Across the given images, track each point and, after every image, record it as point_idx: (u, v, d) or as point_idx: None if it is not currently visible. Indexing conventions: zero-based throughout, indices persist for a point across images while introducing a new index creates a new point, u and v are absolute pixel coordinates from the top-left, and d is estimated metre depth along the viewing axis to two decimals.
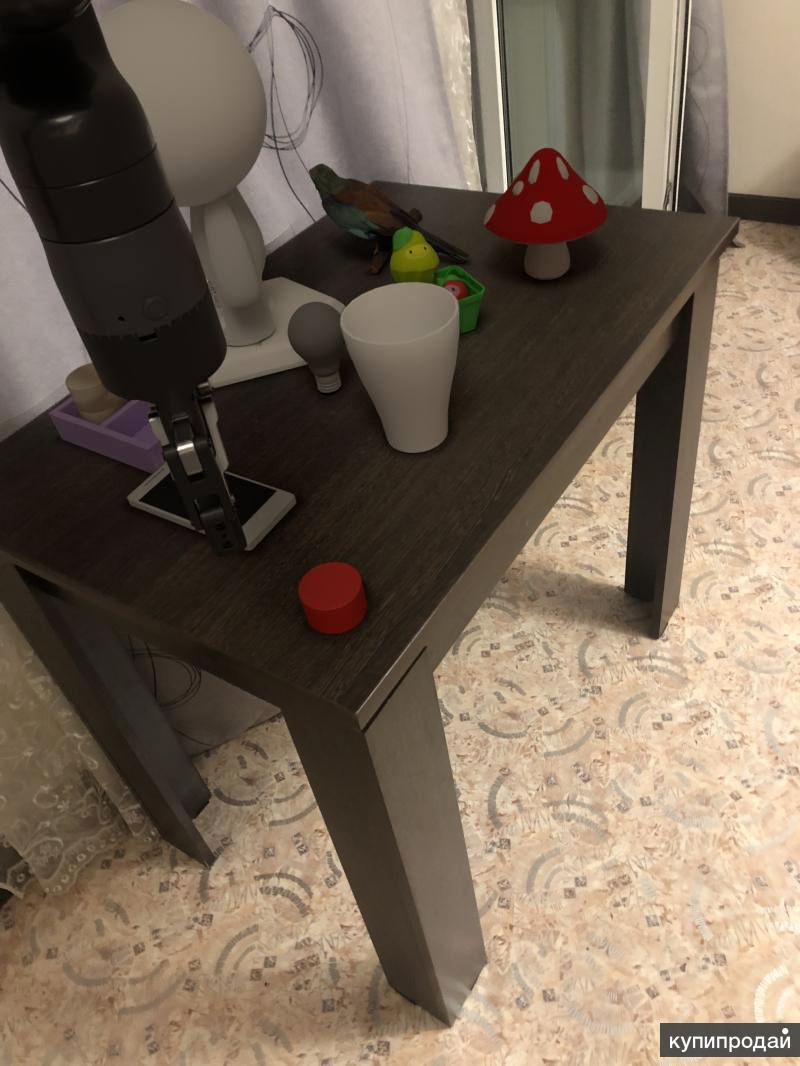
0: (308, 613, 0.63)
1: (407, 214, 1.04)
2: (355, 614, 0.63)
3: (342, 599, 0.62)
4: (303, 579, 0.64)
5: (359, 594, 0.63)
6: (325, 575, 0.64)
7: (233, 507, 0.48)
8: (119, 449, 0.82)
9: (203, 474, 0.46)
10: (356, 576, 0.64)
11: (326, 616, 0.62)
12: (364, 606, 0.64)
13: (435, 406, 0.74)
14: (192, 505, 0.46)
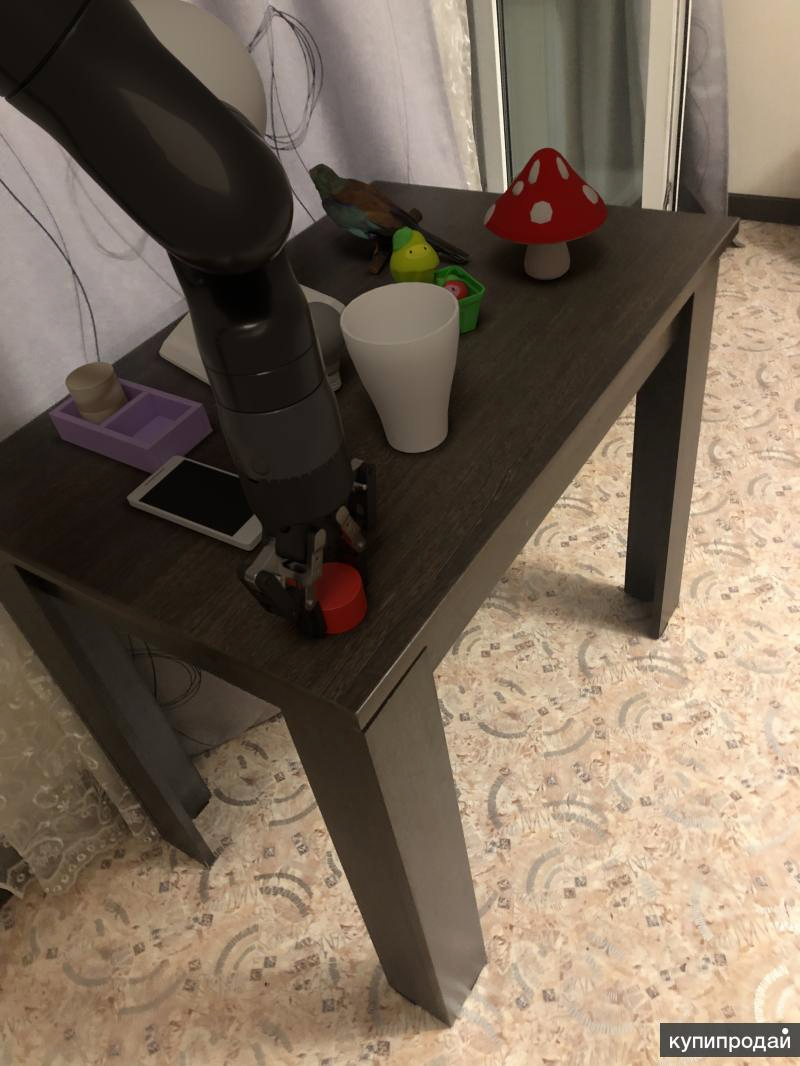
0: None
1: (407, 214, 1.04)
2: (355, 614, 0.63)
3: (342, 599, 0.62)
4: None
5: (359, 594, 0.63)
6: (325, 575, 0.64)
7: (293, 614, 0.58)
8: (119, 449, 0.82)
9: None
10: (356, 576, 0.64)
11: (326, 616, 0.62)
12: (364, 606, 0.64)
13: (435, 406, 0.74)
14: (260, 601, 0.58)
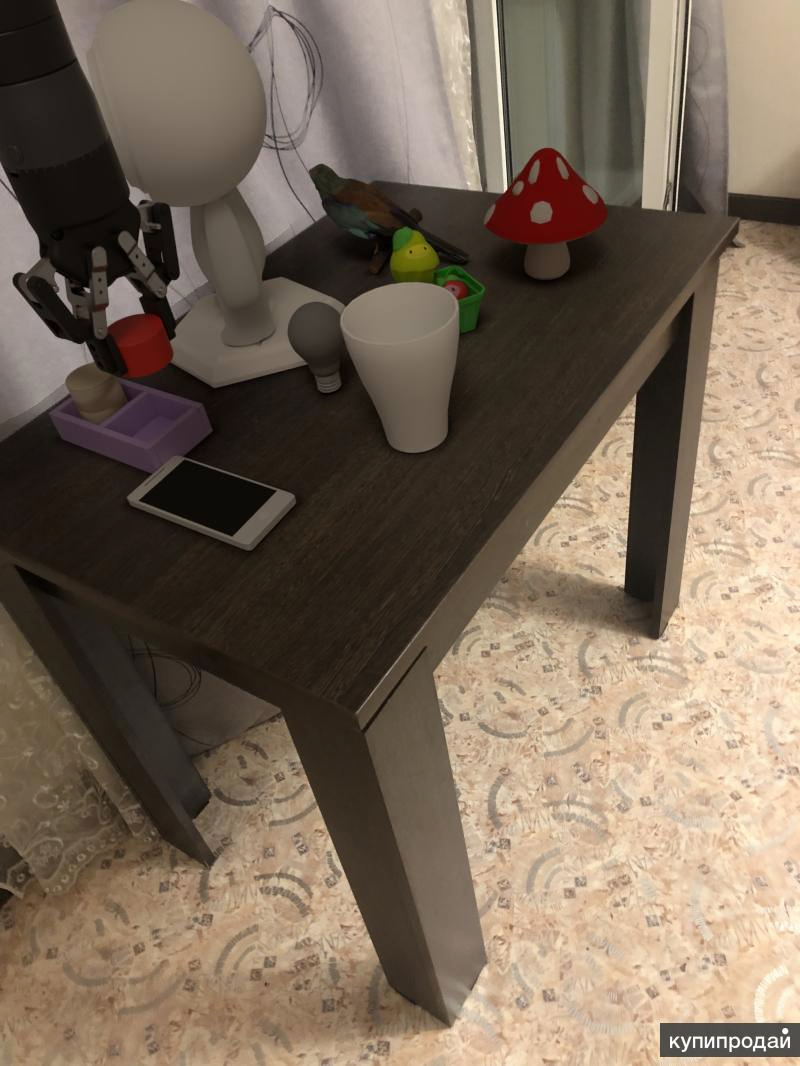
0: None
1: (407, 214, 1.04)
2: (155, 357, 0.66)
3: (139, 338, 0.65)
4: (109, 326, 0.67)
5: (158, 336, 0.65)
6: (130, 322, 0.67)
7: (77, 335, 0.60)
8: (119, 449, 0.82)
9: None
10: (158, 322, 0.66)
11: (124, 355, 0.65)
12: (167, 352, 0.67)
13: (435, 406, 0.74)
14: (45, 321, 0.60)
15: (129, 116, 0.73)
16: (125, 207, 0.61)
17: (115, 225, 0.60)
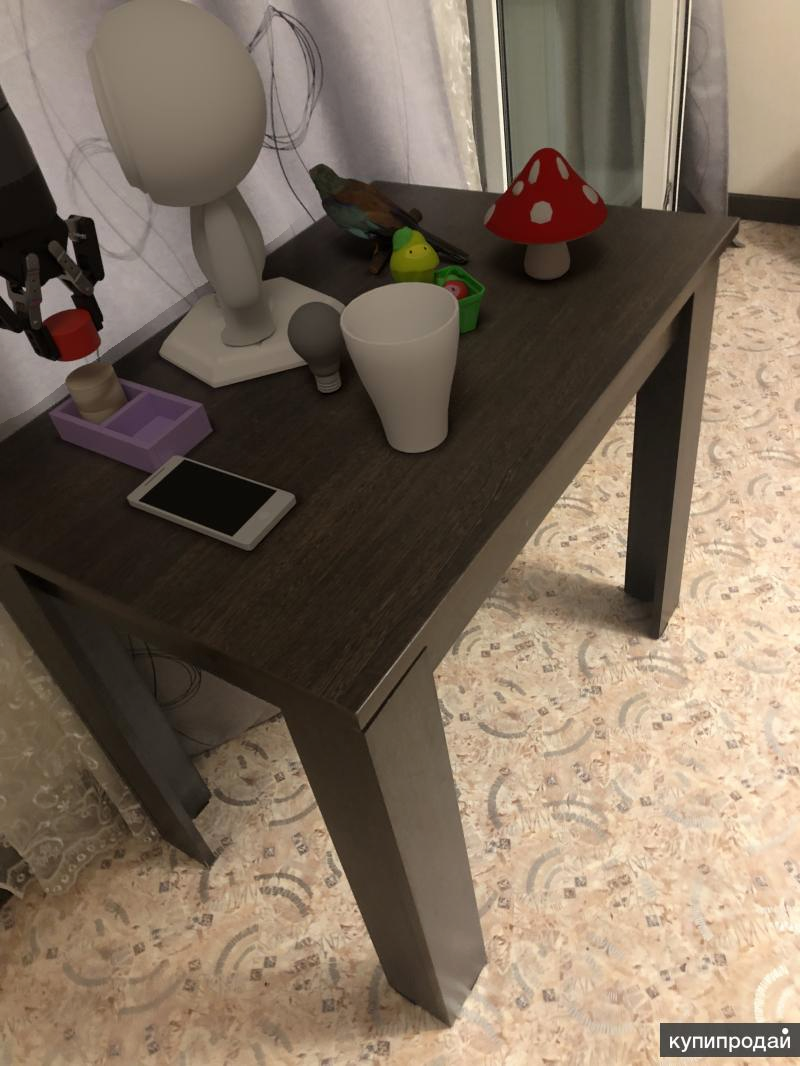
0: None
1: (407, 214, 1.04)
2: (84, 344, 0.79)
3: (70, 328, 0.78)
4: (46, 319, 0.80)
5: (86, 326, 0.79)
6: (63, 316, 0.80)
7: (16, 325, 0.74)
8: (119, 449, 0.82)
9: None
10: (86, 315, 0.80)
11: (57, 342, 0.78)
12: (94, 341, 0.80)
13: (435, 406, 0.74)
14: None
15: (129, 116, 0.73)
16: (54, 221, 0.74)
17: (46, 236, 0.74)
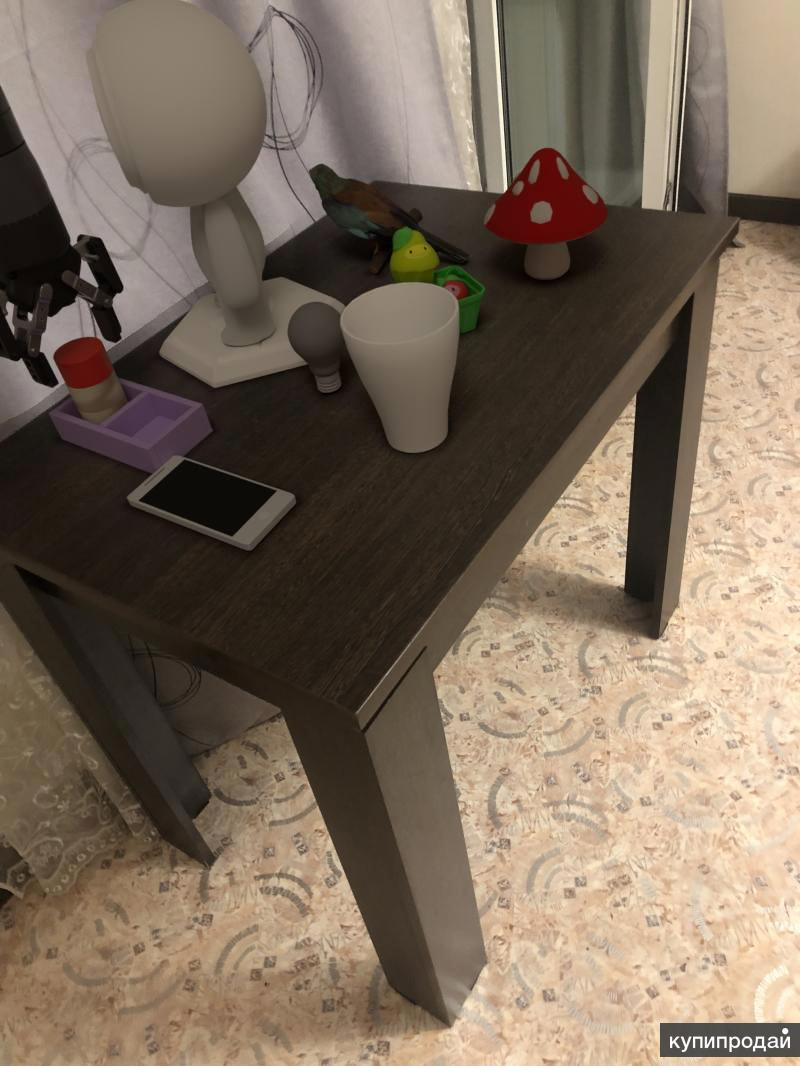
0: (60, 371, 0.81)
1: (407, 214, 1.04)
2: (96, 372, 0.81)
3: (83, 357, 0.80)
4: (59, 347, 0.82)
5: (99, 355, 0.81)
6: (76, 344, 0.82)
7: (14, 353, 0.75)
8: (119, 449, 0.82)
9: None
10: (99, 343, 0.82)
11: (71, 370, 0.80)
12: (107, 368, 0.82)
13: (435, 406, 0.74)
14: None
15: (129, 116, 0.73)
16: (68, 251, 0.76)
17: (60, 266, 0.76)
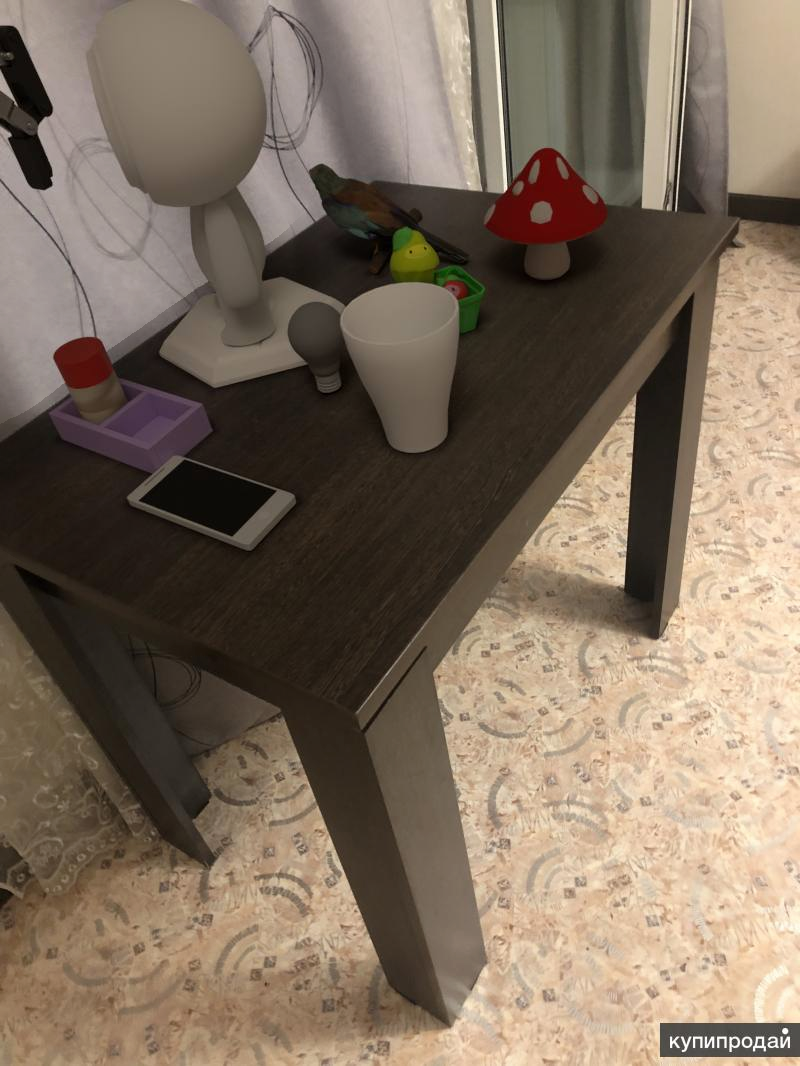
0: (60, 371, 0.81)
1: (407, 214, 1.04)
2: (96, 372, 0.81)
3: (83, 357, 0.80)
4: (59, 347, 0.82)
5: (99, 355, 0.81)
6: (76, 344, 0.82)
7: None
8: (119, 449, 0.82)
9: None
10: (99, 343, 0.82)
11: (71, 370, 0.80)
12: (107, 368, 0.82)
13: (435, 406, 0.74)
14: None
15: (129, 116, 0.73)
16: None
17: None
